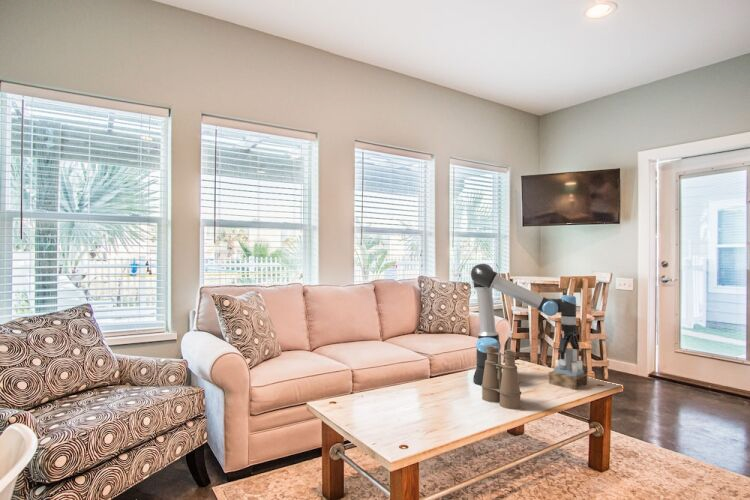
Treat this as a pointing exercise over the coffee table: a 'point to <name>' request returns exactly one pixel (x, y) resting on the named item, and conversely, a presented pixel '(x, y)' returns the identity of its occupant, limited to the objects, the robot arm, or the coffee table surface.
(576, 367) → the pegged blue plate
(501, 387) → the binoculars
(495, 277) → the robot arm
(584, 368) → the wooden u channel
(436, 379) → the coffee table surface
